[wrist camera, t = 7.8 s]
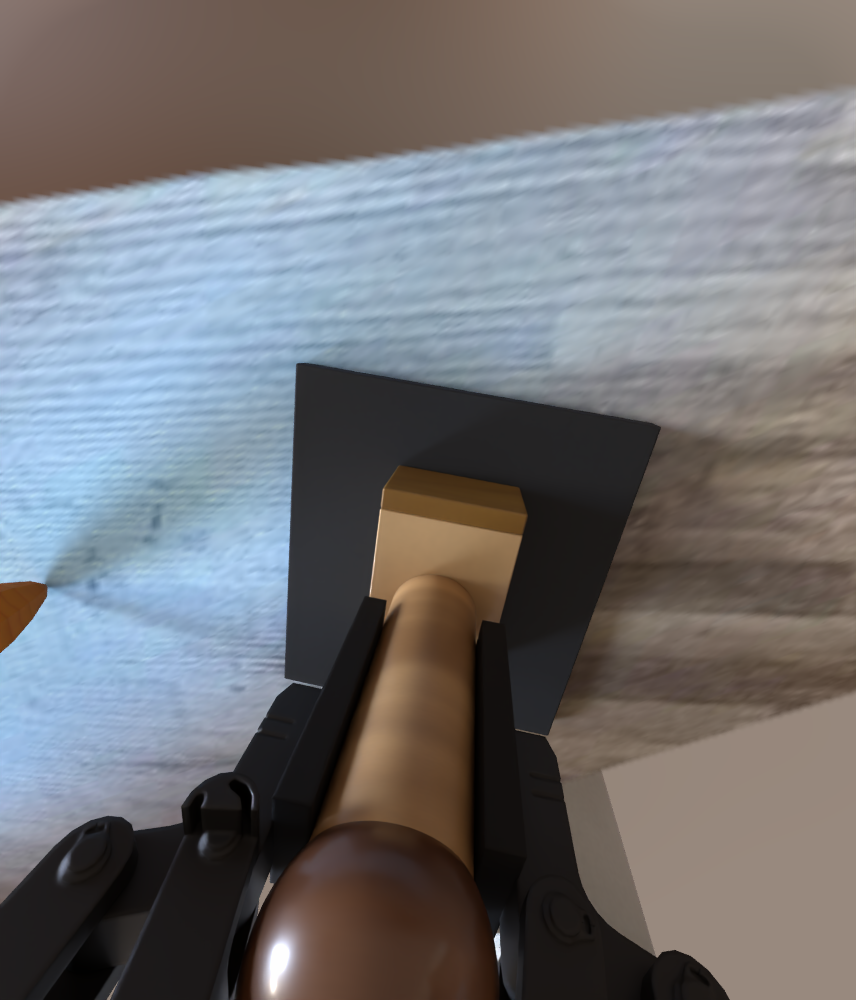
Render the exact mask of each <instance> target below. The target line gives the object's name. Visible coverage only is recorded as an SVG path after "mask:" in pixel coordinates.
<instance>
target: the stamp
mask: <svg viewBox="0 0 856 1000" xmlns="http://www.w3.org/2000/svg"><path fill="white" fill-rule="evenodd" d="M527 518H528V515H527V512H526V508H525V505H524V501H523V498H522V495H521V491H520V488H518V487H514V486H509V485H503V484H498V483H493V482H487V481H482V480H476V479H471V478H466V477H460V476H455V475H450V474H444V473H439V472H433V471H428V470H423V469H417V468H412V467H407V466H401V465H400V466H398V468H397V469H396V471H395V472H394V473H393V475H392V476H391V478H390V479H389V481H388V482H387V484H386V485H385V486H384V488H383V491H382V499H381V509H380V515H379V523H378V531H377V539H376V547H375V555H374V563H373V571H372V579H371V587H370V595H369V597H374V598H379V599H383V600H387V603H386V610H385V617H384V624H383V629H382V631H381V634H380V637H379V640H378V643H377V646H376V649H375V652H374V655H373V658H372V660H371V663H370V666H369V669H368V672H367V675H366V678H365V681H364V684H363V686H362V689H361V692H360V695H359V698H358V701H357V704H356V707H355V710H354V713H353V715H352V718H351V721H350V724H349V727H348V730H347V733H346V736H345V739H344V741H343V744H342V747H341V750H340V753H339V756H338V759H337V762H336V765H335V768H334V770H333V773H332V776H331V779H330V782H329V785H328V788H327V791H326V794H325V796H324V799H323V802H322V805H321V808H320V811H319V814H318V817H317V820H316V823H315V825H314V828H313V831H312V834H311V837H310V840H309V842H308V843H307V844H306V845H305V846H304V847H303V848H302V849H301V850H300V851H299V852H298V853H297V855H296V856H295V857H294V858H293V859H292V860H291V861H290V862H289V864H288V865H287V867H286V868H285V869H284V871H283V872H282V874H281V875H280V876H279V878H278V879H277V881H276V882H275V884H274V885H273V887H272V889H271V890H270V892H269V894H268V896H267V898H266V899H265V901H264V903H263V905H262V907H261V910H260V912H259V914H258V916H257V918H256V921H255V923H254V925H253V928H252V931H251V933H250V936H249V939H248V942H247V945H246V948H245V951H244V954H243V958H242V962H241V966H240V970H239V974H238V979H237V984H236V991H235V998H234V1000H499V973H498V961H497V955H496V949H495V943H494V938H493V933H492V928H491V924H490V921H489V917H488V914H487V910H486V907H485V905H484V902H483V900H482V897H481V895H480V892H479V890H478V887H477V885H476V883H475V881H474V807H475V692H476V643H477V639H478V635H479V631H480V627H481V623H482V620H486V621H491V622H496V623H499V622H500V618H501V615H502V611H503V607H504V604H505V600H506V596H507V592H508V589H509V585H510V581H511V578H512V574H513V570H514V566H515V563H516V559H517V555H518V552H519V548H520V544H521V541H522V534H523V532H524V529H525V525H526V521H527Z"/></svg>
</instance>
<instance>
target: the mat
mask: <svg viewBox="0 0 856 1000" xmlns="http://www.w3.org/2000/svg"><path fill="white" fill-rule="evenodd" d="M660 429H661V427H659V426H657V425H655V424H653V423H647V422H642V421H636V420H630V419H624V418H619V417H613V416H607V415H601V414H596V413H590V412H584V411H578V410H573V409H567V408H561V407H555V406H550V405H544V404H538V403H533V402H527V401H521V400H515V399H510V398H504V397H498V396H492V395H487V394H481V393H475V392H469V391H464V390H458V389H452V388H447V387H441V386H435V385H429V384H424V383H418V382H412V381H406V380H401V379H395V378H389V377H383V376H378V375H372V374H366V373H360V372H355V371H349V370H343V369H338V368H332V367H326V366H320V365H315V364H309V363H297V364H296V384H295V411H294V438H293V465H292V492H291V519H290V545H289V572H288V599H287V626H286V653H285V678H286V679H291V680H295V681H300V682H304V683H309V684H313V685H318V686H323V685H324V683H325V681H326V679H327V677H328V675H329V672H330V670H331V668H332V666H333V664H334V662H335V659H336V657H337V655H338V653H339V651H340V649H341V646H342V644H343V642H344V640H345V638H346V636H347V633H348V631H349V629H350V627H351V625H352V623H353V620H354V618H355V616H356V614H357V612H358V610H359V607H360V605H361V603H362V601H363V599H364V597H365V596H369V595H370V587H371V579H372V571H373V563H374V555H375V547H376V539H377V531H378V523H379V515H380V509H381V499H382V491H383V488H384V486H385V485H386V484H387V482H388V481H389V479H390V478H391V476H392V475H393V473H394V472H395V471H396V469H397V468H398V466H400V465H401V466H407V467H412V468H417V469H423V470H428V471H433V472H439V473H444V474H450V475H455V476H460V477H466V478H471V479H476V480H482V481H487V482H493V483H498V484H503V485H509V486H514V487H518V488H520V491H521V495H522V498H523V501H524V505H525V508H526V512H527V515H528V518H527V521H526V525H525V529H524V532H523V534H522V541H521V544H520V548H519V552H518V555H517V559H516V563H515V566H514V570H513V574H512V578H511V581H510V585H509V589H508V592H507V596H506V600H505V604H504V607H503V611H502V615H501V618H500V622H499V623H501V624H505V629H506V639H507V650H508V660H509V671H510V682H511V692H512V703H513V713H514V724H515V729H520V730H524V731H529V732H534V733H538V734H543V735H548V734H549V731H550V729H551V726H552V723H553V720H554V718H555V715H556V712H557V710H558V707H559V704H560V701H561V699H562V696H563V693H564V691H565V688H566V685H567V682H568V680H569V677H570V674H571V671H572V669H573V666H574V663H575V661H576V658H577V655H578V652H579V650H580V647H581V644H582V642H583V639H584V636H585V633H586V631H587V628H588V625H589V622H590V620H591V617H592V614H593V612H594V609H595V606H596V603H597V601H598V598H599V595H600V592H601V590H602V587H603V584H604V582H605V579H606V576H607V573H608V571H609V568H610V565H611V563H612V560H613V557H614V554H615V552H616V549H617V546H618V543H619V541H620V538H621V535H622V533H623V530H624V527H625V524H626V522H627V519H628V516H629V513H630V511H631V508H632V505H633V503H634V500H635V497H636V494H637V492H638V489H639V486H640V484H641V481H642V478H643V475H644V473H645V470H646V467H647V464H648V462H649V459H650V456H651V454H652V451H653V448H654V445H655V443H656V440H657V437H658V435H659V432H660Z"/></svg>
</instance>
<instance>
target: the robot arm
mask: <svg viewBox="0 0 856 1000" xmlns="http://www.w3.org/2000/svg"><path fill="white" fill-rule="evenodd" d="M386 603H387V600H383V599H379V598H374V597H369V596H365V597H364V599H363V601H362V603H361V605H360V607H359V610H358V612H357V614H356V616H355V618H354V620H353V623H352V625H351V627H350V629H349V631H348V633H347V636H346V638H345V640H344V642H343V644H342V646H341V649H340V651H339V653H338V655H337V657H336V659H335V662H334V664H333V666H332V668H331V670H330V672H329V675H328V677H327V679H326V681H325V683H324V685H323V688H322V689H319V688H315V687H310V686H305V685H301V684H296V683H292V684H291V685H290V686H289V687H288V688H286V689H285V690H284V691H283V692H282V693H280V694H279V695H278V696H277V697H276V699H275V701H274V702H273V704H272V706H271V708H270V709H269V711H268V713H267V715H266V718H264V720H263V721H262V723H261V725H260V726H259V728H258V731H257V733H255V735H254V737H253V739H252V740H251V742H250V744H249V745H248V747H247V749H246V751H245V752H244V754H243V756H242V757H241V759H240V761H239V763H238V764H237V766H236V768H235V769H234V771H233V772H228V773H220V774H218V775H216V776H213V777H211V778H209V779H207V780H205V781H204V782H202V783H201V784H200V785H199V786H198V787H196V788H195V789H194V790H193V791H192V792H191V793H190V794H189V796H188V797H187V799H186V800H185V802H184V803H183V805H182V806H181V809H182V819H183V823H180V824H176V825H172V826H166V827H159V828H152V829H145V830H137V831H133V828H132V825H131V824H130V823H129V822H128V821H126V820H125V819H124V818H122V817H114V816H106V817H102V818H98V819H94V820H91V821H89V822H87V823H85V824H83V825H82V826H80V827H78V828H76V829H74V830H73V831H71V832H70V833H69V834H68V835H67V836H66V837H64V838H63V839H62V840H61V841H60V842H59V843H58V844H56V845H55V846H54V847H53V848H52V850H51V851H50V852H49V853H48V854H47V855H46V856H45V857H44V858H43V859H42V860H41V861H40V862H39V864H38V865H37V866H36V867H35V868H34V869H33V870H32V871H31V872H30V873H29V874H28V875H27V876H26V878H25V879H24V880H23V881H22V882H21V883H20V884H19V885H18V886H17V887H16V888H15V889H14V890H13V891H12V893H11V894H10V895H9V896H8V897H7V898H6V899H5V900H4V901H3V902H2V903H1V904H0V1000H107V998H108V996H109V995H110V993H111V992H112V990H113V988H114V987H115V985H116V984H117V982H118V984H117V986H116V988H115V990H114V993H113V995H112V997H111V999H110V1000H234V998H235V991H236V984H237V979H238V974H239V970H240V966H241V962H242V958H243V954H244V951H245V948H246V945H247V942H248V939H249V936H250V933H251V931H252V928H253V925H254V923H255V921H256V918H257V914H258V905H259V897H260V895H261V892H262V890H263V887H264V885H265V882H266V880H267V877H268V875H269V872H270V883H274V884H275V882H276V881H277V879H278V878H279V876H280V875H281V874H282V872H283V871H284V869H285V868H286V867H287V865H288V864H289V862H290V861H291V860H292V859H293V858H294V857H295V856H296V855H297V853H298V852H299V851H300V850H301V849H302V848H303V847H304V846H305V845H306V844H307V843H308V842H309V840H310V837H311V834H312V831H313V828H314V825H315V823H316V820H317V817H318V814H319V811H320V808H321V805H322V802H323V799H324V796H325V794H326V791H327V788H328V785H329V782H330V779H331V776H332V773H333V770H334V768H335V765H336V762H337V759H338V756H339V753H340V750H341V747H342V744H343V741H344V739H345V736H346V733H347V730H348V727H349V724H350V721H351V718H352V715H353V713H354V710H355V707H356V704H357V701H358V698H359V695H360V692H361V689H362V686H363V684H364V681H365V678H366V675H367V672H368V669H369V666H370V663H371V660H372V658H373V655H374V652H375V649H376V646H377V643H378V640H379V637H380V634H381V631H382V629H383V624H384V617H385V610H386ZM560 779H561V778H560V773H559V768H558V763H557V757H556V755H555V754H554V752H553V750H552V748H551V746H550V745H549V743H548V741H547V739H546V738H545V737H544V736H540V735H535V734H531V733H526V732H521V731H517V730H515V724H514V713H513V703H512V692H511V682H510V671H509V660H508V650H507V639H506V629H505V624H501V623H496V622H491V621H486V620H482V623H481V627H480V631H479V635H478V639H477V643H476V692H475V807H474V881H475V883H476V885H477V887H478V890H479V892H480V895H481V897H482V900H483V902H484V905H485V907H486V910H487V914H488V917H489V921H490V924H491V928H492V933H493V938H495V935H496V933H497V930H498V928H499V925H500V946H501V956H500V958H499V961H498V973H499V1000H730V999H729V998H728V996H727V994H726V992H725V990H724V989H723V988H722V987H721V985H720V984H719V983H718V982H717V980H716V979H715V978H714V977H713V975H712V974H711V973H710V972H709V971H708V970H707V969H706V968H705V967H703V966H702V965H701V964H700V963H699V962H697V961H696V960H695V959H694V958H692V957H691V956H689V955H687V954H684V953H681V952H679V951H676V950H672V951H666V952H662V953H661V954H660V955H659V957H658V958H657V957H655V956H653V955H652V954H650V953H649V952H647V951H646V950H644V949H643V948H641V947H640V946H638V945H637V944H635V943H634V942H632V941H630V940H629V939H627V938H626V937H624V936H623V935H621V934H620V933H618V932H617V931H616V930H615V929H613V928H612V927H611V926H610V925H608V924H607V923H606V922H605V920H604V919H603V918H602V917H601V916H600V915H599V914H598V913H597V911H596V910H595V908H594V907H593V905H592V904H591V902H590V901H589V899H588V897H587V895H586V893H585V891H584V889H583V887H582V884H581V880H580V877H579V873H578V868H577V863H576V857H575V852H574V847H573V842H572V836H571V831H570V826H569V821H568V815H567V810H566V805H565V802H564V794H563V789H562V784H561V783H560Z"/></svg>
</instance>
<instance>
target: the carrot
mask: <svg viewBox="0 0 856 1000" xmlns="http://www.w3.org/2000/svg"><path fill="white" fill-rule="evenodd" d="M47 588H48V587H47V585H46V584H41V583H36V582H31V581H27V582H14V583H1V584H0V653H1V652H2V651H3V650H4V649H5V648H6V647H8V646H9V645H10V644H11V643H12V642H13V641H14V640H15V639H16V638H17V637H18V635H19V634H20V633H21V632H22V631H23V630H24V628H25V627H26V626H27V625H28V624H29V623H30V621H31V620H32V619H33V618H34V616H35V614H36V613H37V611H38V610H39V608H40V607H41V605H42V604H43V602H44V600H45V599H46V597H47Z"/></svg>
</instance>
